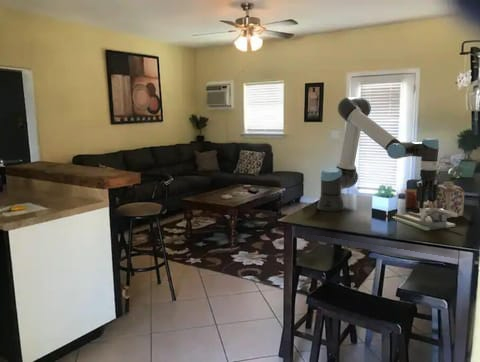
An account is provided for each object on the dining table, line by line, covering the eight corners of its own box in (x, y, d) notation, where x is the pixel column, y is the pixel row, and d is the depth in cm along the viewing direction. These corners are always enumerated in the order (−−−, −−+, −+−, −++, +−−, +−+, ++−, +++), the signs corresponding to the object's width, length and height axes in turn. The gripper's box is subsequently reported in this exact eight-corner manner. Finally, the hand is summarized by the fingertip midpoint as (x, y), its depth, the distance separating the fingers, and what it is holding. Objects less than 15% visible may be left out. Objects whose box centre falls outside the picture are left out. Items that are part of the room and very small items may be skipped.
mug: (402, 206, 231) (403, 189, 230) (417, 206, 230) (418, 189, 228) (407, 210, 220) (408, 193, 218) (423, 211, 218) (424, 193, 216)
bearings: (430, 222, 195) (430, 211, 194) (434, 221, 196) (435, 211, 195) (441, 226, 188) (442, 215, 187) (446, 225, 189) (447, 214, 188)
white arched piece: (408, 217, 199) (409, 203, 198) (424, 215, 202) (424, 202, 201) (442, 228, 180) (443, 213, 178) (458, 225, 183) (459, 211, 182)
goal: (419, 226, 188) (420, 220, 187) (435, 224, 191) (436, 218, 190) (429, 230, 182) (430, 223, 182) (445, 227, 185) (446, 221, 185)
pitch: (392, 218, 203) (392, 213, 202) (418, 215, 209) (419, 210, 208) (426, 230, 181) (426, 225, 181) (455, 226, 187) (455, 221, 187)
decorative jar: (447, 218, 202) (450, 184, 199) (429, 213, 213) (431, 181, 210) (463, 215, 207) (466, 182, 204) (445, 211, 217) (447, 179, 215)
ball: (424, 216, 189) (429, 219, 186) (429, 215, 190) (434, 218, 187) (422, 222, 190) (427, 225, 187) (427, 221, 191) (432, 224, 188)
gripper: (421, 171, 189) (418, 217, 193) (447, 169, 195) (443, 214, 199) (410, 169, 196) (407, 213, 200) (435, 167, 202) (431, 210, 206)
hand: (425, 213), depth 199 cm, fingers closed on white arched piece, 4 cm apart
